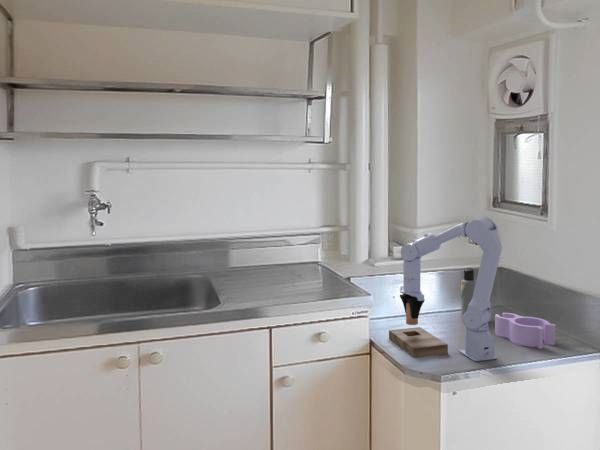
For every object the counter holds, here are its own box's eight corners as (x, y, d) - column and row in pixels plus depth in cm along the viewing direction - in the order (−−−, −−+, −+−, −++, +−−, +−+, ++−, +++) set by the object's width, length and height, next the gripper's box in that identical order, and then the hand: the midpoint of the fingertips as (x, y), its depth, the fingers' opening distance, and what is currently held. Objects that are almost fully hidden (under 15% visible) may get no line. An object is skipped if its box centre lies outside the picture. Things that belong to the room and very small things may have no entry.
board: (447, 353, 178) (447, 344, 177) (413, 357, 175) (413, 348, 174) (419, 335, 197) (419, 327, 196) (388, 338, 194) (388, 330, 194)
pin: (419, 324, 187) (420, 304, 187) (409, 325, 186) (409, 305, 186) (414, 321, 191) (414, 301, 191) (404, 322, 190) (404, 302, 190)
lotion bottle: (478, 317, 217) (479, 268, 215) (471, 320, 213) (472, 270, 211) (465, 315, 221) (465, 266, 219) (458, 318, 217) (458, 268, 215)
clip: (487, 335, 196) (487, 316, 195) (510, 329, 202) (510, 310, 201) (536, 350, 179) (537, 330, 178) (559, 343, 185) (560, 323, 184)
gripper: (392, 274, 193) (392, 312, 195) (410, 283, 179) (410, 323, 181) (410, 273, 195) (410, 310, 196) (430, 281, 181) (429, 321, 182)
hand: (411, 316), depth 189 cm, fingers closed on pin, 4 cm apart
